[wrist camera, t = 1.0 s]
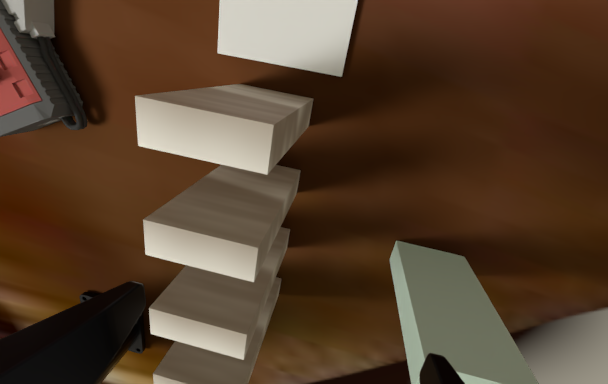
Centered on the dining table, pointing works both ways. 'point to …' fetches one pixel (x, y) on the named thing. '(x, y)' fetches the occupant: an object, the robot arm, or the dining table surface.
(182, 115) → the domino
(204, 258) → the domino
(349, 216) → the dining table surface
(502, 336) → the green domino
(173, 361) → the domino
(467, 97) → the dining table surface
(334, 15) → the end pad
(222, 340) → the domino
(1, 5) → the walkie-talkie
